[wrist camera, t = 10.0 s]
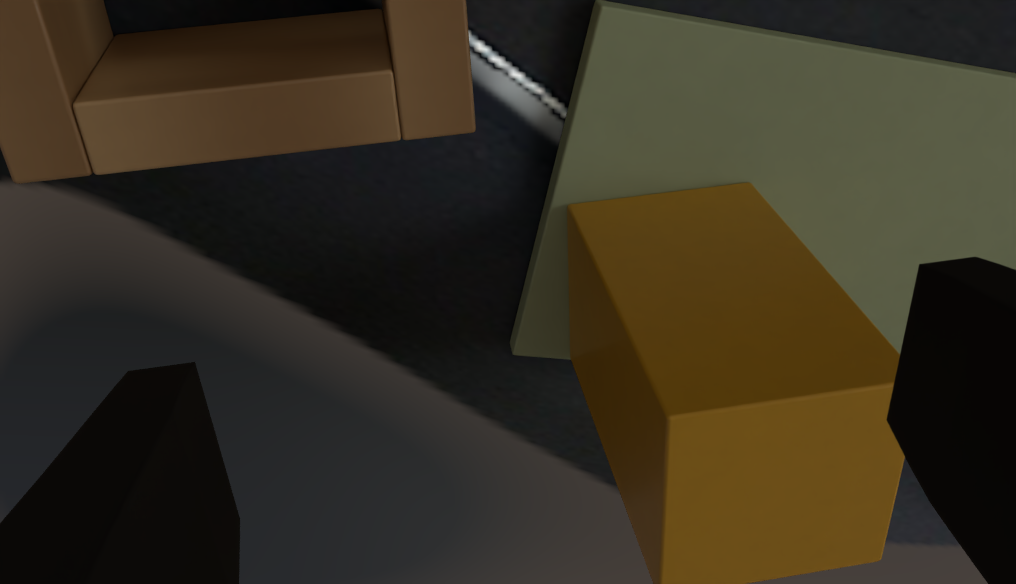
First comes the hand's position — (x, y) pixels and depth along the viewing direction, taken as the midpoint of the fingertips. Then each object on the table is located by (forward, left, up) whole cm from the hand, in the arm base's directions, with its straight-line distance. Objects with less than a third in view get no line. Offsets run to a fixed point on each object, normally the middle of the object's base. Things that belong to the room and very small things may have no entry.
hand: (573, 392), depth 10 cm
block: (-2, -6, -10) cm, 12 cm away
